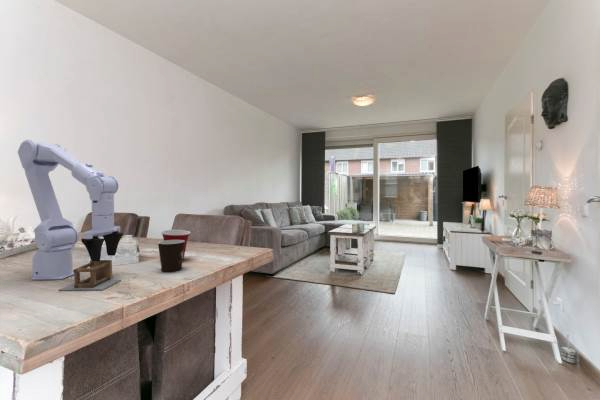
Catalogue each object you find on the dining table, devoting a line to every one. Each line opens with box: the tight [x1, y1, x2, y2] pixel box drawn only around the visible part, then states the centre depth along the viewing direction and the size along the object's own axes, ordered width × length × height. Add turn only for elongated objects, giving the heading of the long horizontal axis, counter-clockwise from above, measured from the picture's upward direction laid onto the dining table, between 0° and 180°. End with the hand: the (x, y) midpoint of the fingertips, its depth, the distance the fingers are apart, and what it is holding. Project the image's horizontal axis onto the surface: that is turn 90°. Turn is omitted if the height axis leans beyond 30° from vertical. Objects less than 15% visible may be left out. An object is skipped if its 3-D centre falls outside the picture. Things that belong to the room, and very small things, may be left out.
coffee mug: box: [157, 240, 185, 273], centre depth 101 cm, size 12×9×10 cm
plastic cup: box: [160, 229, 191, 260], centre depth 112 cm, size 11×11×12 cm
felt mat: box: [57, 279, 122, 292], centre depth 82 cm, size 12×8×1 cm
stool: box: [73, 259, 113, 288], centre depth 83 cm, size 6×6×8 cm
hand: (103, 258), depth 88 cm, fingers open, 7 cm apart
